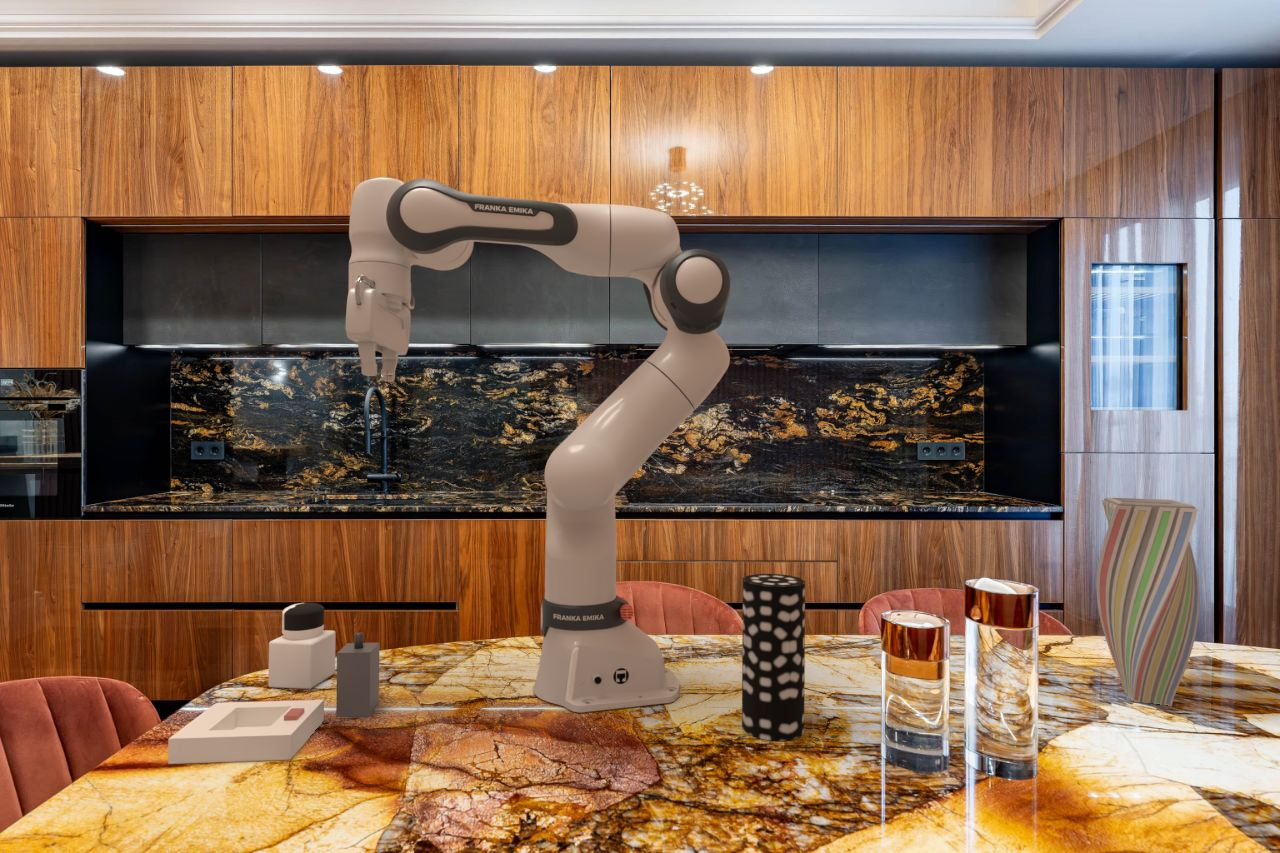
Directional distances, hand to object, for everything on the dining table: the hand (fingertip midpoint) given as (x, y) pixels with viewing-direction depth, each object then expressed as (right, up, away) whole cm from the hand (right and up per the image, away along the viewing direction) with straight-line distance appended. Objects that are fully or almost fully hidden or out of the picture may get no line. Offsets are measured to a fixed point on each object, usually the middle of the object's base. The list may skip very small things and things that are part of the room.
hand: (379, 378), depth 105 cm
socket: (-10, -48, -16) cm, 51 cm away
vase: (+117, -49, 0) cm, 127 cm away
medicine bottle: (-14, -48, +5) cm, 50 cm away
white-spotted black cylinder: (+58, -48, -11) cm, 76 cm away
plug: (0, -48, -6) cm, 48 cm away
